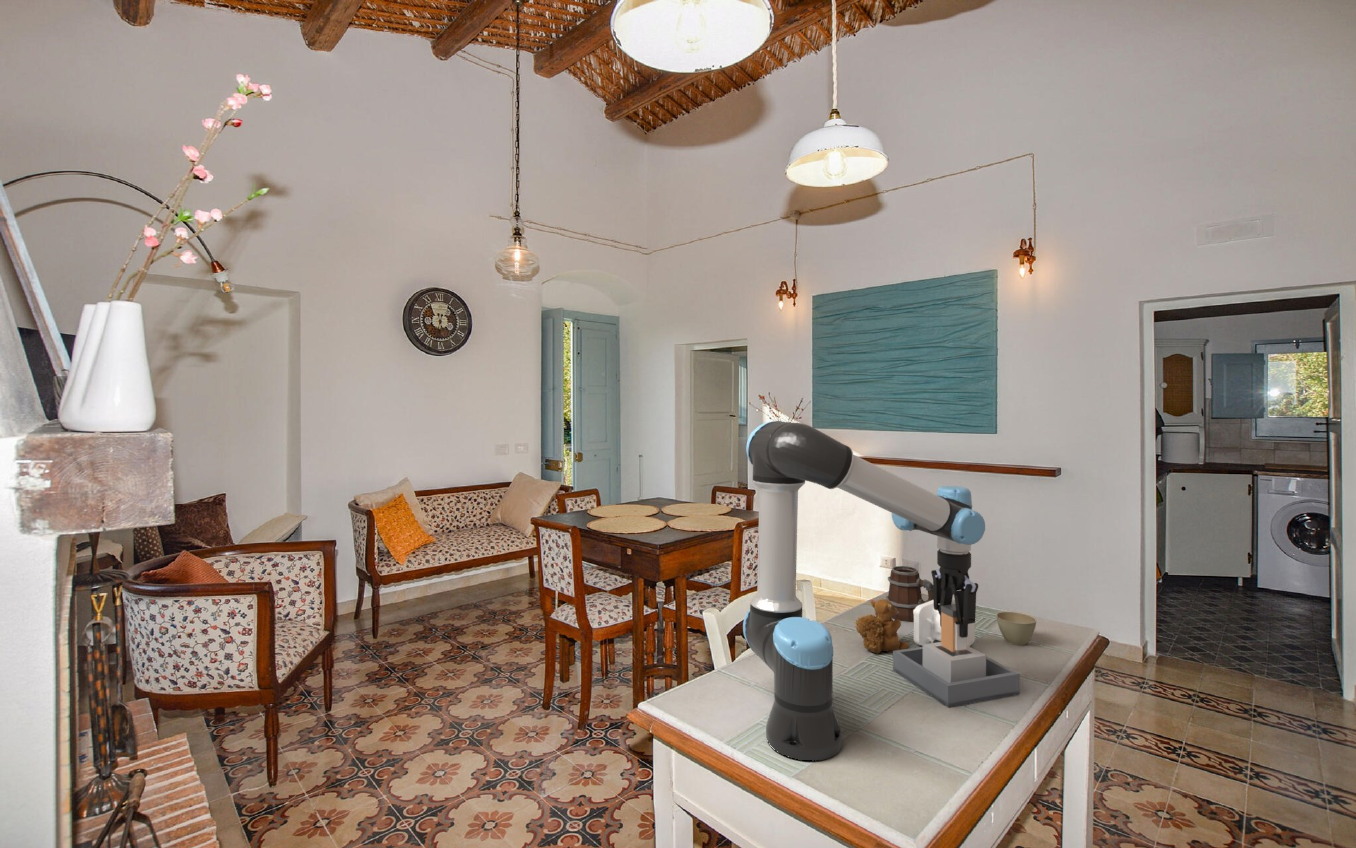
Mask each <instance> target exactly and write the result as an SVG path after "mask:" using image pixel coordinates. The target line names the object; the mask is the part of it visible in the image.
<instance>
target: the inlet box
mask: <svg viewBox="0 0 1356 848" xmlns="http://www.w3.org/2000/svg"><path fill="white" fill-rule="evenodd" d="M892 659H893V660H892V671H893V672H895V673H896V674H898V675H899V676H901V677H902V678H904V680H906V681H908V682H909V683H911V684H912V685H914V686H915V687H917V688H918V689H920V690H921V691H922V692H924V693H926V694H927V695H929V696H930V697H931V698H932V699H934V700H936V701H937V702H938V703H940V704H941V705H943V706H945V707H946V708H949V709H950V708H955V707H960V706H967V705H971V704H977V703H982V702H987V701H992V700H993V701H994V700H999V699H1004V698H1009V697H1015V696H1020V695H1021V694H1020V693H1021V692H1020V691H1021V687H1020V685H1021V683H1020V682H1021V674H1020V673H1019V672H1017V671H1015V670H1013V669H1012V668H1010V667H1008V666H1006V665H1004V664H1002V663H1001V662H998V661H996V660H994V659H992V658H991V657H989V656H987V655H986V654H984V653H982V652H980V651H979V650H977V649H975V648H973V647H971V646H970V647H969V646H967V650H963V651H957V652H952V651H950V650H948V649H946V648H944V647H943V646H941V641H937V642H933V643H931V642H930V643H929V644H923V646H919V647H918V646H917V647H911V648H908V649H904V650H897V651H893V652H892Z"/></svg>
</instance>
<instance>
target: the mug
mask: <svg viewBox="0 0 1356 848" xmlns="http://www.w3.org/2000/svg"><path fill="white" fill-rule="evenodd" d="M889 575H890V576H888V577H887V581H888V582H889V587H888V588H889V589H888V595H886V597H885V600H888V601H890V602H891V603H892V605H893V607H895V608H896V609H897V610H896V609H895V610H896V612H895V610H894V613H893V616H892V620H893V619H894V620H896V619H898V620H900V622H909V623H911V622H913V623H914V614H913V610H915V608H916V607H917V606H918V605H921V604H923V603H926V602H929V601H931V600H934V599H933V582H931V581H930V580H928V579H926V578H924V579H921V578H920V572H919V570H918V569H917V568H916V567H913V566H905V565H902V566H901V565H900V566H899V565H898V566H894V567H892V568H891V570H890V574H889ZM922 587H923V589H925V591H927V596H928V597H927V599H926V600H924V599H923V595H922ZM897 611H898V612H899V613H898V612H897ZM896 613H897V614H896Z"/></svg>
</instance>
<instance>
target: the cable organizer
mask: <svg viewBox="0 0 1356 848" xmlns="http://www.w3.org/2000/svg"><path fill="white" fill-rule="evenodd" d="M938 605H940V604H938ZM913 614H914V621H913V642H914V644H917V645H919V646H921V647H923V644H930V643H934V641H938V642H941V626H940V614H939V612H938V610H935V609H934V600H931V601H929V602H926V603H923V604H921V605H918V606H917V607H916V608H915V610H913ZM975 640H976V622H975V623H971V624H968V636H967V646H969V647H971V645H973V644H974V642H975Z"/></svg>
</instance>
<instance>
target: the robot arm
mask: <svg viewBox="0 0 1356 848" xmlns="http://www.w3.org/2000/svg"><path fill="white" fill-rule="evenodd" d="M745 450H746V456H747V458H748V460H749V462H750V464H751V465H752V482H753V484H754V485H756V487H757V488H758V490H759V493H758V495H759V496H758V499H759V500H758V536H757V537H758V539H757V541H758V543H757V546H758V547H757V589H756V591H757V592H756V594H755V595H754V596H753V597H752V598H750V602H749V603H750V604H749V610H748V611H747V612H746V613H745V615H744V618H743V623H742V632H743V636H744V639H745V641H746V642H747V644H748V646H749V648H750V650H751V651H752V652H753V653H754V654H755V655H756V656H757V657H758V658H759V659H760V660H761V661H762V662H764V664H765V665H766V666H767V667H768V668H769V669H770V670H771V671H772V672H773V679H774V682H773V683H774V688H773V689H774V695H773V696H774V701H773V704H772V706H771V710H770V712H769V716H768V719H767V721H766V726H765V739H766V738H767V740H768V742H769V743H770V745H771V746H772V747H773V748H774V749H775V750H776V751H778V752H779V753H781V754H782V756H783V755H786V756H789V757H791V758H790V759H792V758H795V759H794V760H796V759H798V760H797V761H802V760H812V761H811V762H817V761H816V760H819V761H824V760H828V759H830V758H832V757H834V756H836V755H837V754H838V753H839V752H840V751H841V749H842V746H843V745H842V743H843V742H842V741H843V739H842V734H843V733H842V729H841V727H840V723H839V721H838V718H837V715H836V712H835V709H834V705H833V695H834V693H833V692H834V691H833V687H834V686H833V685H834V684H833V683H834V682H833V680H834V679H833V675H834V674H833V673H834V671H833V667H834V665H833V659H834V658H833V657H834V647H833V639H832V635H831V633H830V631H829V630H828V628H827V627H826V626H825V625H824V624H822V623H820V622H819V621H816V620H810V618H807V617H803V603H802V601H801V600H800V599H799V597H797V595H796V594H797V557H798V555H797V553H798V551H797V550H798V511H799V510H798V509H799V507H798V506H799V490H800V488H802V487H803V486H804V485H805V483H806V482H810V483H813V484H817V485H819V486H822V487H824V488H826V489H829V490H834V489H837V488H838V489H839V490H842V491H844V492H847V493H848V494H851V495H852V496H855V497H857V498H859V499H862V500H864V501H866V502H868V503H870V504H872V505H875V506H877V507H878V508H881V509H883V510H884V511H888V512H890V514H891V519H892V522H893V524H894V526H895V527H896V528H897V529H899V530H901V531H909V532H911V531H921V532H924V533H926V534H930V535H933V536H937V537H936V539H937V540H936V547H937V549H938V550H937V551H936V553H937V554H936V555H937V556H936V558H937V560H936V564H937V565H938V566H939V569H933V570H931V577H932V584H933V599H934V609H935V610H938V612H939V614H940V626H941V606H942V605H950V604H953V603H952V602H953V597H954V604H955V606H956V613H957V621H956V622H955V650H964V649H966V637H967V636H968V624H971V623H975V624H976V611H977V610H976V608H977V607H976V606H977V592H978V589H979V584H978V583H977V582H972V580H971V579H970V576H969V570H970V569H971V567H972V553H971V550H972V545H975V544H976V543H978V542H980V540H981V539H982V538H983V536H984V534H985V533H986V532H985V531H986V522H985V520H984V517H983V516H982V514H981V513H980V512H978V511H976V510H974V509H973V504H972V502H973V501H972V492H971V490H970V489H969V488H967V487H963V486H957V485H956V486H955V485H950V486H949V485H945V486H939V487H938V489H937V493H936V494H935V493H933V492H931V491H929V490H926V489H925V488H923V487H921V486H918V485H917V484H915V483H913V482H910V481H909V480H906V479H905V478H902V477H900V476H898V475H896V474H894V473H892V472H890V471H888V470H886V469H883V468H882V467H879V466H878V465H876V464H873V463H871V461H867V460H865V459H864V458H861V457H859V456H857V455H855V454H854V452H853V451H854V450H853V449H852V448H851V447H850V446H848V445H846V444H845V443H842V442H840V441H838V440H837V439H835V438H833V437H831V436H830V435H828V434H826V433H824V432H822V431H820V430H818V429H816V428H815V427H813V426H811V425H808V424H804V423H801V422H788V421H783V420H782V421H781V420H773V421H767V422H764V423H761V424H760V425H758V426H757V427H756V428H754V430H753V431H751V433H750V435H749V436H748V439H747V442H746V449H745ZM938 604H940V605H938ZM962 618H963V619H962ZM767 740H766V741H767ZM768 742H767V743H768ZM770 745H769V746H770ZM774 749H773V750H774ZM775 750H774V751H775ZM776 751H775V752H776ZM778 752H777V753H778ZM779 753H778V754H779ZM781 754H780V755H781ZM786 756H785V757H786ZM789 757H788V758H789ZM814 760H815V761H814Z"/></svg>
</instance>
